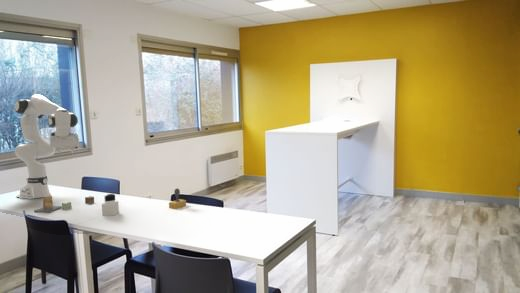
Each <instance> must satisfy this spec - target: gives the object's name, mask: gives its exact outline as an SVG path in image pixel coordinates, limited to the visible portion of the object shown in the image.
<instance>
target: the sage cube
mask: <svg viewBox="0 0 520 293" xmlns="http://www.w3.org/2000/svg"><path fill="white" fill-rule="evenodd" d="M61 206H62V208H61V209H62V210H69V209H72V201H63V202H61Z"/></svg>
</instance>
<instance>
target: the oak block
mask: <svg viewBox="0 0 520 293" xmlns="http://www.w3.org/2000/svg"><path fill="white" fill-rule="evenodd" d="M41 199H42V207H43V209H46V210H47V209H52V208H53V206H54V205H53V195H47V196H42V197H41Z"/></svg>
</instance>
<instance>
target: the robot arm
mask: <svg viewBox="0 0 520 293" xmlns="http://www.w3.org/2000/svg"><path fill="white" fill-rule="evenodd" d="M14 111H15V113H17V114H20V115H22V116H21V118H20V127H21V131H22V132H21V133H22V135H23V136H22V137H23V139H24V140H25V141H27V142H29V143H22V144H18V145H17V146H16V147H15V148H14V154H15V157H17V158H18V159H19V160H20V161H22V162H23V163H24V164H26V167H27V171H28V172H27V173H28V178H26V183H25V184H24V185H23V186H21V188H20V189H19V190H20V191H19V194H18V195H16V198H17V197H19V198H20V199H29V200H33V199H37V198H42V196H47V195H51V192H50V189H49V183H48V175H47V167H46V165H45V164H44V163H41V162H39V161H37V160H36V159H37V158H38V159H40V158H48V157H51V156H53V155H54V154H55V152H56V151H57V154H59V155H60V154H62V150H60V148H70V149H71V150H70V151H69V154H70V155H73V154H74V153H75V152H74V151H75V149H76V148H78V147H80V145H81V144H80V140H79V134H77V133H74V132H73V133H72V128H75V127H76V126H77V124H78V123H79V121H78V120H79V119H78V116H77V115H76V114H75V113H74V112H70V111H69V109H66V108H63V107H62V106H60V105H58V104H56V103H53V102H52V101H50V100H49V99H48V98H47V97H45V96H43V95H41V94H36V93H35V94H33V95H32V96H30V99H26V98H23V99H18V100H16V101H15V103H14ZM45 116H48V118H47V124H48V126H49V127H51V128H52V129H56V130H55V131H53V132H50V133H49V137H50V138H49V141H48V140H47V139H46V138H44V137H43V135H42V133H41V131H40V128H39V124H38V119H42V118H43V117H45ZM51 196H52V195H51ZM19 198H18V199H19Z"/></svg>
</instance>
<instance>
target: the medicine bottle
mask: <svg viewBox="0 0 520 293" xmlns="http://www.w3.org/2000/svg"><path fill="white" fill-rule="evenodd" d="M103 200H104V202H103V203H101V211H102V212H101V213H102V216H104V217H105V216H106V217H107V216H112V217H113V216H116V215H117V214H119V213H120V210H119V209H120V207H119V201H118V200H116V194H114V193H108V194H105V195H104V199H103Z"/></svg>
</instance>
